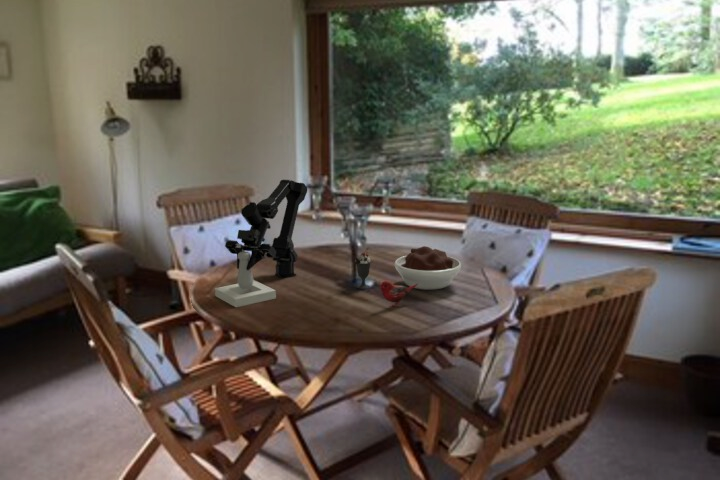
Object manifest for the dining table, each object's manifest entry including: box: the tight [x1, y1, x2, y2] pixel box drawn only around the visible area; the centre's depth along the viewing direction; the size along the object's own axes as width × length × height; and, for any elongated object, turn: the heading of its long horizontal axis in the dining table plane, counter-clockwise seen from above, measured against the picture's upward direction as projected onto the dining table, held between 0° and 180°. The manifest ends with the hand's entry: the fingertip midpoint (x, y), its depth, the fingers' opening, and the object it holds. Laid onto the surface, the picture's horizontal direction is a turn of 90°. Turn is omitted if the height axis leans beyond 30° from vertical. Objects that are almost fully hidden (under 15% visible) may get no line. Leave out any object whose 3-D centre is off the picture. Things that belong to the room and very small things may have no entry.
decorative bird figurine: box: [379, 280, 418, 308], centre depth 225 cm, size 3×18×10 cm, turn 127°
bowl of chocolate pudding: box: [394, 245, 462, 291], centre depth 246 cm, size 25×25×15 cm
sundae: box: [354, 248, 373, 290], centre depth 244 cm, size 7×7×15 cm
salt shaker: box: [236, 251, 254, 289], centre depth 233 cm, size 6×6×13 cm
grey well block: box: [214, 279, 277, 308], centre depth 235 cm, size 16×16×3 cm
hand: (242, 269), depth 231 cm, fingers closed on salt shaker, 3 cm apart
